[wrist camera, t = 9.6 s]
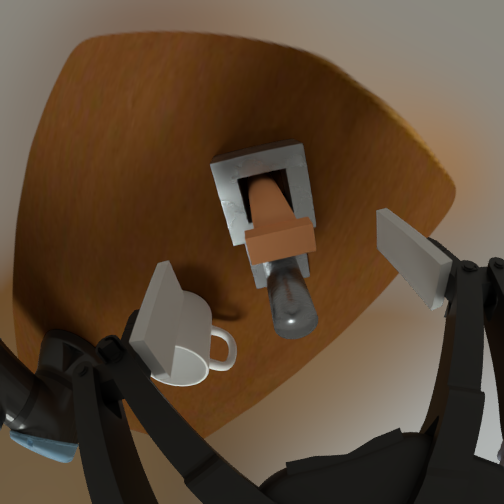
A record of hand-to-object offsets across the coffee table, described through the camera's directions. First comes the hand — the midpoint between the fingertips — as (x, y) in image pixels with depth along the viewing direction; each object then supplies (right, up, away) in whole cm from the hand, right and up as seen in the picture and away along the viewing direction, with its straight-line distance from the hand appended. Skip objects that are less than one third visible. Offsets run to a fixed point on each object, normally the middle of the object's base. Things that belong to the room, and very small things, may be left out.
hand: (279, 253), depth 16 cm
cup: (-10, -9, +22) cm, 25 cm away
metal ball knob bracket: (0, +4, +15) cm, 16 cm away
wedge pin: (-1, +8, +13) cm, 15 cm away
